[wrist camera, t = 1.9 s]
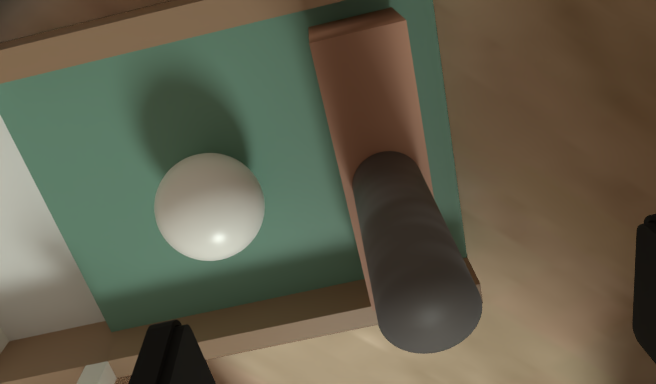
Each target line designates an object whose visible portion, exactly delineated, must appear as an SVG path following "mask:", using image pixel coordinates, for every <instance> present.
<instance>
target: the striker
mask: <svg viewBox="0 0 656 384" xmlns="http://www.w3.org/2000/svg"><path fill="white" fill-rule="evenodd" d="M308 32H309V45H310V49H311V53H312V58H313V62H314V66H315V70H316V75H317V79H318V83H319V87H320V92H321V96H322V100H323V104H324V108H325V113H326V117H327V121H328V125H329V130H330V134H331V138H332V142H333V147H334V151H335V155H336V159H337V163H338V168H339V172H340V176H341V180H342V185H343V189H344V193H345V197H346V202H347V206H348V210H349V214H350V219H351V223H352V227H353V231H354V235H355V240H356V244H357V248H358V252H359V257H360V261H361V265H362V269H363V274H364V278H365V282H366V286H367V290H368V295H369V299H370V303H371V307H372V311H375V310H376V315H377V320H378V325H379V328H380V330H381V332H382V334H383V335H384V336H385V338H386V339H387V340H388V341H389V342H390V343H392V344H393V345H394V346H396V347H398V348H400V349H402V350H405V351H408V352H413V353H423V354H424V353H435V352H440V351H444V350H446V349H449V348H451V347H453V346H455V345H457V344H459V343H460V342H462V341H463V340H464V339H466V338H467V337H468V336H469V335H470V334H471V333H472V331H473V330H474V329H475V327H476V326H477V324H478V322H479V320H480V317H481V313H482V300H481V296H480V293H479V291H478V289H477V287H476V285H475V282H474V280H473V278H472V276H471V274H470V272H469V270H468V268H467V266H466V264H465V262H464V260H463V258H462V256H461V254H460V252H459V249H458V247H457V245H456V243H455V241H454V239H453V237H452V235H451V233H450V231H449V229H448V227H447V225H446V223H445V221H444V218H443V216H442V214H441V212H440V210H439V208H438V206H437V204H436V202H435V200H434V194H433V188H432V182H431V175H430V169H429V162H428V156H427V149H426V143H425V137H424V130H423V124H422V117H421V111H420V105H419V98H418V92H417V85H416V79H415V73H414V66H413V60H412V53H411V47H410V41H409V34H408V28H407V21H406V19H404V18H403V17H402V16H401V15H400V14H399V13H398V12H397V11H395V10H394V9H393V8H392V7H390V8H386V9H382V10H378V11H374V12H369V13H365V14H361V15H357V16H353V17H349V18H344V19H340V20H336V21H332V22H328V23H324V24H319V25H315V26H311V27H308Z"/></svg>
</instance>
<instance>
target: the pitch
mask: <svg viewBox="0 0 656 384" xmlns="http://www.w3.org/2000/svg"><path fill="white" fill-rule="evenodd" d="M390 7H392V8H393V9H394V10H395V11H397V12H398V13H399V14H400V15H401V16H402V17H403V18H404V19H406V21H407V28H408V34H409V41H410V47H411V53H412V60H413V66H414V73H415V79H416V85H417V92H418V98H419V105H420V111H421V117H422V124H423V130H424V137H425V143H426V149H427V156H428V162H429V169H430V175H431V182H432V188H433V194H434V200H435V202H436V204H437V206H438V208H439V210H440V212H441V214H442V216H443V218H444V221H445V223H446V225H447V227H448V229H449V231H450V233H451V235H452V237H453V239H454V241H455V243H456V245H457V247H458V249H459V252H460V254H461V256H462V258H463V260H464V262H465V264H466V266H467V268H468V270H469V272H470V274H471V276H472V278H473V280H474V282H475V285H476V287H477V289H478V291H479V293H480V296H481V300H482V294H481V286H480V282H479V280H478V278H477V276H476V274H475V272H474V270H473V268H472V266H471V264H470V262H469V260H468V258H467V253H466V246H465V238H464V231H463V223H462V216H461V208H460V201H459V193H458V186H457V178H456V171H455V163H454V156H453V148H452V141H451V133H450V126H449V118H448V111H447V103H446V96H445V88H444V81H443V73H442V66H441V58H440V51H439V43H438V36H437V28H436V21H435V13H434V6H433V0H173V1H169V2H165V3H161V4H157V5H153V6H149V7H145V8H141V9H137V10H132V11H128V12H124V13H120V14H116V15H112V16H108V17H104V18H100V19H96V20H92V21H88V22H84V23H80V24H76V25H72V26H68V27H63V28H59V29H55V30H51V31H47V32H43V33H39V34H35V35H31V36H27V37H23V38H19V39H15V40H11V41H7V42H3V43H0V384H115V381H116V379H117V378H120V377H125V376H130V375H132V372H133V369H134V367H135V364H136V361H137V358H138V355H139V352H140V349H141V346H142V343H143V340H144V337H145V335H146V332H147V329H148V327H149V326H150V325H153V324H157V323H162V322H167V321H171V320H179V321H180V322H181V324H182V325H185V324H188V325H189V326H190V327H191V329H192V331H193V333H194V336H195V338H196V340H197V342H198V345H199V347H200V349H201V351H202V354H203V356H204V358H205V360H208V359H213V358H218V357H223V356H227V355H232V354H237V353H242V352H247V351H252V350H257V349H262V348H267V347H271V346H276V345H281V344H286V343H291V342H296V341H301V340H306V339H310V338H315V337H320V336H325V335H330V334H335V333H340V332H345V331H349V330H354V329H359V328H364V327H369V326H374V325H378V320H377V315H376V310H375V311H372V307H371V303H370V299H369V295H368V290H367V286H366V282H365V278H364V274H363V269H362V265H361V261H360V257H359V252H358V248H357V244H356V240H355V235H354V231H353V227H352V223H351V219H350V214H349V210H348V206H347V202H346V197H345V193H344V189H343V185H342V180H341V176H340V172H339V168H338V163H337V159H336V155H335V151H334V147H333V142H332V138H331V134H330V130H329V125H328V121H327V117H326V113H325V108H324V104H323V100H322V96H321V92H320V87H319V83H318V79H317V75H316V70H315V66H314V62H313V58H312V53H311V49H310V45H309V32H308V27H311V26H315V25H319V24H324V23H328V22H332V21H336V20H340V19H344V18H349V17H353V16H357V15H361V14H365V13H369V12H374V11H378V10H382V9H386V8H390ZM202 153H219V154H223V155H227V156H230V157H232V158H234V159H236V160H238V161H240V162H241V163H243V164H244V165H245V166H246V167H248V168H249V170H250V171H251V172H252V173H253V174H254V175H255V177H256V178H257V180H258V182H259V184H260V186H261V189H262V191H263V195H264V202H265V211H264V218H263V222H262V225H261V227H260V230H259V231H258V233H257V235H256V237H255V238H254V239H253V241H252V242H251V243H250V244H249V245H248V246H247V247H246V248H245V249H243V250H242V251H241V252H239V253H237V254H235V255H233V256H231V257H229V258H226V259H222V260H216V261H202V260H196V259H193V258H190V257H187V256H185V255H183V254H181V253H179V252H178V251H177V250H175V249H174V248H173V247H172V246H170V245H169V243H168V242H167V241H166V240H165V239H164V237H163V236H162V234H161V232H160V230H159V228H158V226H157V223H156V219H155V213H154V202H155V195H156V192H157V189H158V186H159V184H160V182H161V180H162V179H163V177H164V176H165V174H166V173H167V172H168V171H169V170H170V169H171V168H172V167H173V166H174V165H175V164H177V163H178V162H180V161H181V160H183V159H185V158H187V157H190V156H193V155H196V154H202ZM482 303H483V302H482Z"/></svg>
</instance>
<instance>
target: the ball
mask: <svg viewBox="0 0 656 384" xmlns="http://www.w3.org/2000/svg"><path fill="white" fill-rule="evenodd" d="M264 211H265V202H264V195H263V191H262V189H261V186H260V184H259V182H258V180H257V178H256V177H255V175H254V174H253V173H252V172H251V171H250V170H249V168H248V167H246V166H245V165H244V164H243V163H241V162H240V161H238V160H236V159H234V158H232V157H230V156H227V155H223V154H219V153H202V154H196V155H193V156H190V157H187V158H185V159H183V160H181V161H180V162H178V163H177V164H175V165H174V166H173V167H172V168H171V169H170V170H169V171H168V172H167V173H166V174H165V176H164V177H163V179H162V180H161V182H160V184H159V186H158V189H157V192H156V195H155V202H154V213H155V219H156V223H157V226H158V228H159V230H160V232H161V234H162V236H163V237H164V239H165V240H166V241H167V242H168V243H169V245H170V246H172V247H173V248H174V249H175V250H177V251H178V252H179V253H181V254H183V255H185V256H187V257H190V258H193V259H196V260H202V261H216V260H222V259H226V258H229V257H231V256H233V255H235V254H237V253H239V252H241V251H242V250H243V249H245V248H246V247H247V246H248V245H249V244H250V243H251V242H252V241H253V239H254V238H255V237H256V235H257V233H258V231H259V230H260V227H261V225H262V222H263V218H264Z"/></svg>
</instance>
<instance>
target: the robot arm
mask: <svg viewBox="0 0 656 384" xmlns="http://www.w3.org/2000/svg"><path fill="white" fill-rule="evenodd" d="M633 331H634V334H635V337H636V339H637V341H638V342H639V344H640V345H641V346H642V347H643V349H644V350H645V351H646V352H647V354H648V355H649V356H650V357H651V358H652V360H653V361H654V362H655V363H656V214H652V215H649V216H647V217H646V218H645V220H644V224H641V225H639V226H638V228H637V236H636V258H635V280H634V302H633ZM129 384H216V383H215V381H214V379H213V376H212V374H211V372H210V370H209V367H208V365H207V363H206V361H205V358H204V356H203V354H202V351H201V349H200V347H199V345H198V342H197V340H196V338H195V336H194V333H193V331H192V329H191V327H190V326H189V325H188V324H185V325H182V324H181V322H180V321H179V320H171V321H167V322H162V323H157V324H153V325H150V326H149V327H148V329H147V332H146V335H145V337H144V340H143V343H142V346H141V349H140V352H139V355H138V358H137V361H136V364H135V367H134V369H133V372H132V375H131V378H130V381H129Z"/></svg>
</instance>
